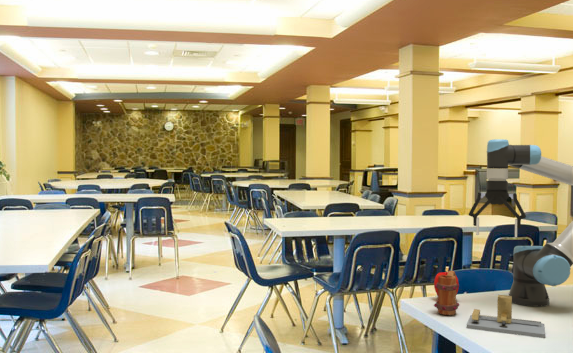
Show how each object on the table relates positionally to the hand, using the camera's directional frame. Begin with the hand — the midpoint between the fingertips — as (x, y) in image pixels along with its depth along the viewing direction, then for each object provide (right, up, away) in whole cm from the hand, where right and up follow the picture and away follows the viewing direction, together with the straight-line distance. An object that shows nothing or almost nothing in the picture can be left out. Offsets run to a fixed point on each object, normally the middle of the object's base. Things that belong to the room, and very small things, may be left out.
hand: (496, 235), depth 201 cm
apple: (-14, -29, +16) cm, 36 cm away
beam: (-6, -28, -22) cm, 36 cm away
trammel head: (-6, -27, -21) cm, 35 cm away
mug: (-19, -29, -2) cm, 35 cm away
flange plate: (-5, -29, -21) cm, 36 cm away
